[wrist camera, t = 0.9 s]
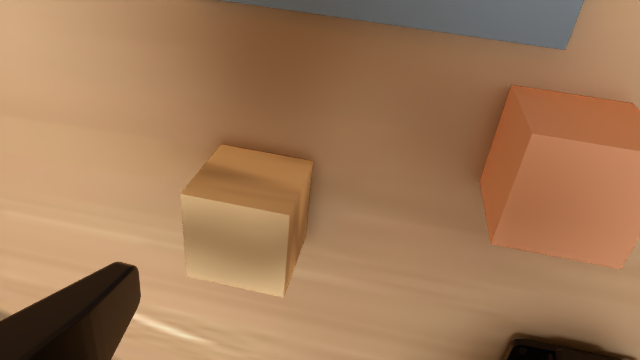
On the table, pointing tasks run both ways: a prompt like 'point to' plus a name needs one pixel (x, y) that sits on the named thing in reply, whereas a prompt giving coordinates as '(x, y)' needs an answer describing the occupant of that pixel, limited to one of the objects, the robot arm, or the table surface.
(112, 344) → the robot arm
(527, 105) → the terracotta block
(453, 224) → the table surface
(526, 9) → the board
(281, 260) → the maple block
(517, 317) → the table surface
